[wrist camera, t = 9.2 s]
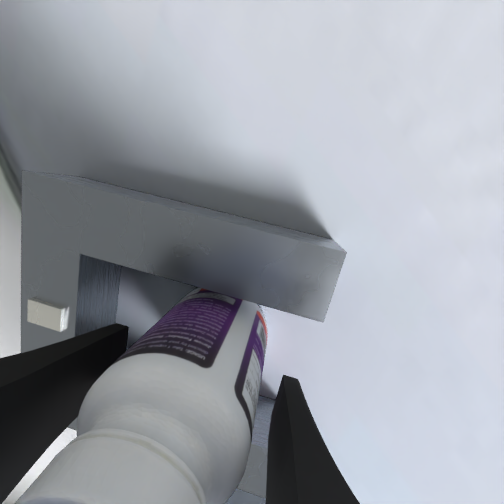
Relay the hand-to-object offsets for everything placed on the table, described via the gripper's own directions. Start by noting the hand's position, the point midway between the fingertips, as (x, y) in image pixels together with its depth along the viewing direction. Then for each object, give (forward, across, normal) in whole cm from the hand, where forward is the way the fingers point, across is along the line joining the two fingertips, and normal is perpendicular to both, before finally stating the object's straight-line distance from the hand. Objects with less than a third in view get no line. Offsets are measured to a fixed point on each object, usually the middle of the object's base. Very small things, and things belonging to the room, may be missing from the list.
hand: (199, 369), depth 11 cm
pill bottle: (+4, 0, 0) cm, 4 cm away
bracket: (+3, +2, 0) cm, 4 cm away
